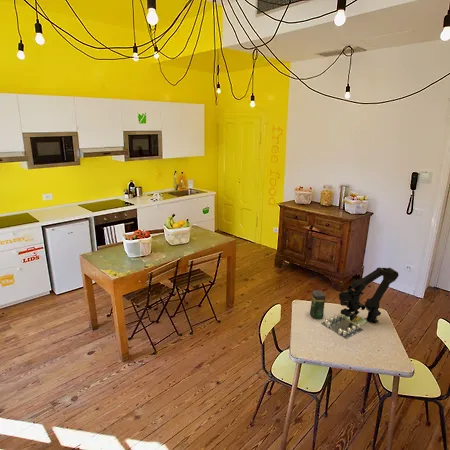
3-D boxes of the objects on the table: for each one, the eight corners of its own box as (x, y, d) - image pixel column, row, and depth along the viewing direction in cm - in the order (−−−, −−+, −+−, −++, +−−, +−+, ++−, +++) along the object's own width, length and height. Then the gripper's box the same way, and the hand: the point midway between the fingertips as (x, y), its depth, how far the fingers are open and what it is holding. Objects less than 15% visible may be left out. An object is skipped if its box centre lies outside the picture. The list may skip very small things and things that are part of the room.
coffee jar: (324, 319, 230) (327, 295, 224) (313, 320, 228) (316, 296, 223) (318, 312, 239) (321, 288, 233) (308, 312, 238) (310, 289, 232)
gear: (354, 316, 233) (354, 313, 232) (361, 320, 228) (361, 317, 228) (348, 319, 230) (349, 316, 229) (355, 323, 225) (356, 320, 225)
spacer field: (337, 316, 234) (338, 310, 233) (363, 330, 219) (364, 325, 218) (320, 324, 224) (321, 318, 223) (345, 340, 209) (346, 334, 208)
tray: (350, 315, 236) (351, 312, 235) (366, 323, 227) (366, 320, 226) (342, 318, 231) (343, 315, 231) (358, 327, 222) (358, 324, 221)
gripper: (352, 291, 233) (349, 311, 238) (335, 298, 223) (332, 318, 228) (367, 298, 225) (363, 318, 229) (349, 305, 214) (346, 327, 219)
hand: (351, 320), depth 227 cm, fingers closed
